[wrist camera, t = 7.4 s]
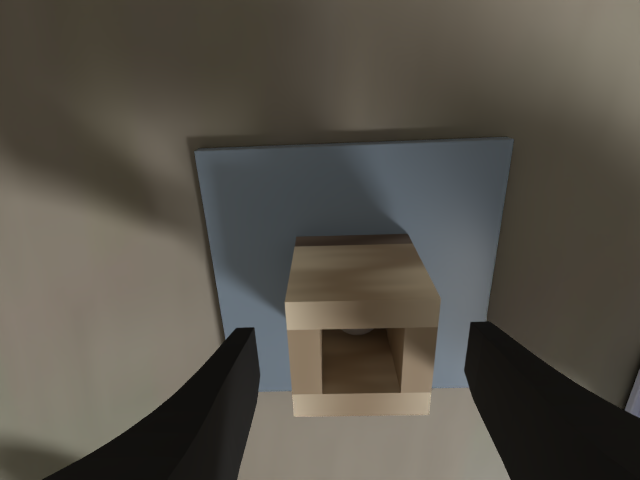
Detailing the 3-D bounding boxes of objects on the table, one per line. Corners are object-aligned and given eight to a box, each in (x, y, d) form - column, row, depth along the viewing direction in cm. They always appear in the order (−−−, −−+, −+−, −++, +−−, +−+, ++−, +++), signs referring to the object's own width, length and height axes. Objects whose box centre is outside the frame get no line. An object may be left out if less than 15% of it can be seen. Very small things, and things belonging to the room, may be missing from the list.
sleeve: (407, 233, 16) (441, 298, 11) (402, 326, 18) (429, 414, 13) (296, 236, 16) (284, 302, 12) (302, 328, 18) (294, 416, 13)
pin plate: (507, 136, 15) (549, 151, 12) (471, 378, 20) (495, 430, 17) (198, 148, 15) (170, 165, 12) (236, 383, 20) (222, 434, 17)
